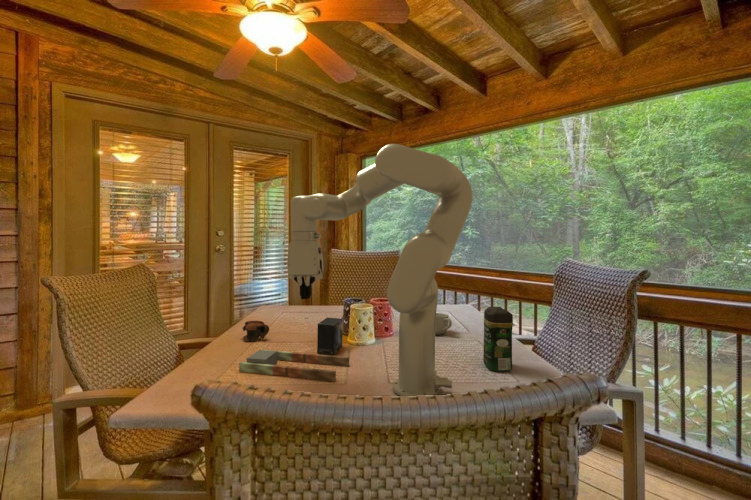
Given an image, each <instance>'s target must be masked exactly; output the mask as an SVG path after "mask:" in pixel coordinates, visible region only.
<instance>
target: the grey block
mask: <svg viewBox="0 0 751 500" xmlns="http://www.w3.org/2000/svg"><path fill="white" fill-rule="evenodd" d="M267 350H268V349H259V350H257V351H256V352H253V354H251V355H249V356H248V357H247V358H246V362H249V363H260V364H270V365H277V363H278V360H277V351H278V350H274V351H267Z"/></svg>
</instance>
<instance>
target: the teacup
mask: <svg viewBox="0 0 751 500" xmlns="http://www.w3.org/2000/svg"><path fill="white" fill-rule="evenodd" d="M449 317H450V316H449V314H445V313H440V312H436V332H435V336H436V335H437V336H440V335H443V334H445V333H446V332H447V330H448V329H450V328H451V327H452V323H453V322H452V319H451V318H449Z"/></svg>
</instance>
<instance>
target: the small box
mask: <svg viewBox="0 0 751 500" xmlns="http://www.w3.org/2000/svg"><path fill="white" fill-rule="evenodd" d="M343 321H344V318H338V317H337V318H336V317H326V318H324V319H323V320H321V321H320V322H318V323H317V334H316V335H317V336H316V337H317V340H316V342H317V346H316V348H317V349H316V354H319V355H330V356H335V355H336V353H337V352H338V351H339V350H340V349H341V348H342V347H343V330H344V329H343V326H344V325H343V324H344V322H343Z"/></svg>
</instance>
